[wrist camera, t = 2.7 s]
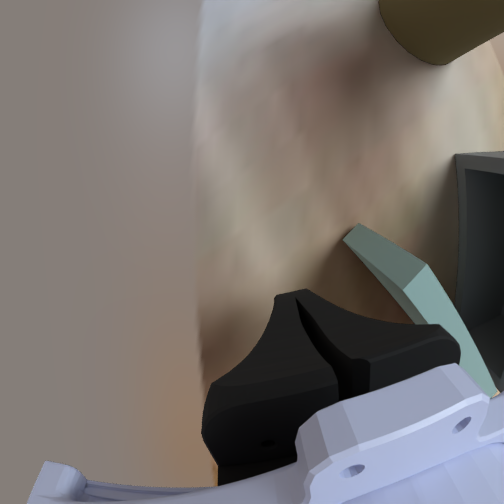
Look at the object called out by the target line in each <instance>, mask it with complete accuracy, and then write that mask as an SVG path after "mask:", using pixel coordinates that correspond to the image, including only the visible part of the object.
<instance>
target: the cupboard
mask: <svg viewBox="0 0 504 504" xmlns="http://www.w3.org/2000/svg"><path fill="white" fill-rule="evenodd" d="M455 160H456V170H457V182H458V200H459V254H458V272H457V285H456V295H455V304H454V307H455V309H456V311H457V312H458V314H459V316H460V318H461V319H462V321H463V323H464V325H465V326H466V328H467V330H468V332H469V334H470V336H471V338H472V339H473V341H474V343H475V345H476V347H477V349H478V351H479V353H480V355H481V357H482V359H483V361H484V363H485V365H486V367H487V369H488V372H489V374H490V376H491V378H492V380H493V382H494V385H495V387H496V388H497V389H498V390H499V391H500V393H501V392H503V391H504V151H498V152H477V153H462V154H455Z"/></svg>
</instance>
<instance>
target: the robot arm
mask: <svg viewBox="0 0 504 504" xmlns="http://www.w3.org/2000/svg"><path fill="white" fill-rule="evenodd" d="M460 357H461V349H460V345H459V343H458V342H457V341H456V339H455V338H454V337H453V336H452V335H451V334H450V333H449V332H447V331H446V330H445V329H444V328H443V327H442V326H441V325H440V324H417V325H414V324H399V323H391V322H385V321H380V320H375V319H371V318H367V317H364V316H361V315H357V314H354V313H352V312H349V311H347V310H345V309H342V308H340V307H338V306H336V305H334V304H332V303H330V302H328V301H326V300H325V299H323V298H321V297H320V296H318V295H316V294H315V293H313V292H311V291H310V290H308V289H302V290H298V291H293V292H289V293H284V294H279V295H276V296H275V298H274V307H273V311H272V314H271V317H270V320H269V322H268V324H267V327H266V329H265V331H264V333H263V335H262V336H261V338H260V340H259V341H258V343H257V344H256V346H255V347H254V348H253V350H252V351H251V352H250V353H249V355H248V356H247V357H246V358H245V359H244V360H243V361H242V362H241V363H239V364H238V365H237V366H236V367H235V368H234V369H232V370H231V371H230V372H228V373H227V374H225V375H224V376H222V377H221V378H219V379H218V380H216V381H214V382H213V383H212V384H211V386H210V388H209V391H208V395H207V398H206V402H205V405H204V410H203V417H202V431H201V434H202V437H203V440H204V443H205V444H206V446H207V448H208V450H209V451H210V453H211V455H212V457H213V458H214V460H215V462H216V463H217V465H218V486H217V487H199V488H198V487H197V488H165V487H143V486H131V485H121V484H111V483H105V482H98V481H91V480H87V479H86V478H85V477H84V476H83V474H82V473H81V472H80V471H78V470H77V469H76V468H74V467H72V466H70V465H66V464H61V463H56V462H52V461H45V463H44V465H43V467H42V469H41V471H40V473H39V476H38V478H37V480H36V482H35V485H34V487H33V489H32V492H31V494H30V496H29V499H28V502H27V504H504V391H503V392H501V393H500V394H498V395H497V396H495V397H493V398H490V397H489V396H488V395H487V394H486V393H485V392H484V390H483V389H482V388H481V387H480V386H479V385H478V384H477V383H476V381H475V380H474V379H473V378H472V377H471V376H470V375H469V374H468V373H467V371H466V370H465V369H463V368H462V367H461V366H459V363H460Z"/></svg>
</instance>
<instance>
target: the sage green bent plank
mask: <svg viewBox="0 0 504 504" xmlns="http://www.w3.org/2000/svg"><path fill="white" fill-rule="evenodd" d="M343 241H344V242H345V243H346V244H347V245H348V246H349V247H350V249H351V250H352V251H353V252H354V253H355V254H356V255H357V256H358V257H359V259H360V260H361V261H362V262H363V263H364V264H365V265H366V266H367V268H368V269H369V270H370V271H371V272H372V273H373V274H374V275H375V277H376V278H377V279H378V280H379V281H380V282H381V284H382V285H383V286H384V287H385V288H386V289H387V291H388V292H389V293H390V294H391V295H392V297H393V298H394V299H395V300H396V301H397V302H398V304H399V305H400V306H401V307H402V309H403V310H404V311H405V312H406V313H407V315H408V316H409V317H410V318H411V320H412V321H413V322H414V323H415V325H417V324H440V325H441V326H442V327H443V328H444V329H445V330H446V331H447V332H449V333H450V334H451V335H452V336H453V337H454V338H455V339H456V341H457V342H458V343H459V345H460V349H461V357H460V363H459V366H461V367H462V368H463V369H465V370H466V371H467V373H468V374H469V375H470V376H471V377H472V378H473V379H474V380H475V381H476V383H477V384H478V385H479V386H480V387H481V388H482V389H483V390H484V392H485V393H486V394H487V395H488V396H489V397H490V398H491V397H492V396H493V395H494V394H495V393H496V392H497V389H496V387H495V385H494V382H493V380H492V378H491V376H490V374H489V372H488V369H487V367H486V365H485V363H484V361H483V359H482V357H481V355H480V353H479V351H478V349H477V347H476V345H475V343H474V341H473V339H472V338H471V336H470V334H469V332H468V330H467V328H466V326H465V325H464V323H463V321H462V319H461V318H460V316H459V314H458V312H457V311H456V309H455V307H454V306H453V304H452V302H451V301H450V299H449V297H448V296H447V294H446V292H445V291H444V289H443V288H442V286H441V284H440V283H439V281H438V280H437V278H436V277H435V275H434V273H433V272H432V270H431V269H430V267H429V266H428V264H427V263H425V262H423V261H422V260H420V259H419V258H417V257H415V256H414V255H412V254H411V253H409V252H407V251H406V250H404V249H402V248H401V247H399V246H397V245H396V244H394V243H392V242H391V241H389V240H387V239H386V238H384V237H382V236H381V235H379V234H377V233H375V232H374V231H372V230H370V229H369V228H367V227H365V226H363V225H361V224H360V223H358V224H357V225H356V226H355V227H354V228H353V229H352V230H351V231H350V232H349V233H348V234H347V235H346V236H345V237H344V239H343Z"/></svg>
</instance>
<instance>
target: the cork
mask: <svg viewBox="0 0 504 504" xmlns="http://www.w3.org/2000/svg"><path fill="white" fill-rule="evenodd" d="M379 6H380V13H381V16H382V18H383V20H384V22H385V24H386V27H387V28H388V30H389V31H390V32H391V34H392V35H393V36H394V38H395V39H396V41H398V42H399V43H400V44H401V45H402V46H403V47H404V48H405V49H406V50H407V51H408V52H409V53H411V54H412V55H414V56H416V57H417V58H419V59H420V60H422V61H424V62H427V63H430V64H433V65H446V64H448V63H449V62H451V61H453V60H455V59H457V58H458V57H460V56H462V55H464V54H465V53H467V52H469V51H470V50H472V49H474V48H476V47H477V46H479V45H481V44H483V43H485V42H486V41H488V40H490V39H492V38H493V37H495V36H497V35H499V34H501V33H503V32H504V0H379Z"/></svg>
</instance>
